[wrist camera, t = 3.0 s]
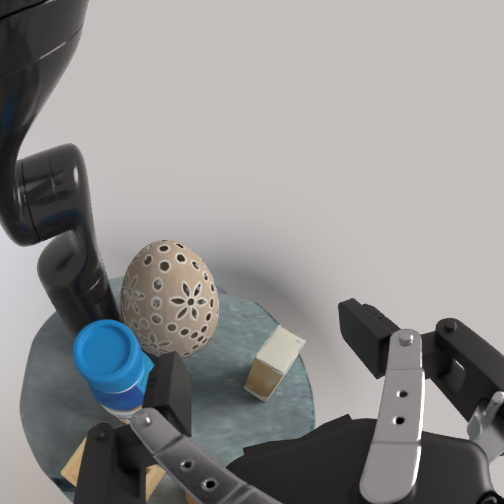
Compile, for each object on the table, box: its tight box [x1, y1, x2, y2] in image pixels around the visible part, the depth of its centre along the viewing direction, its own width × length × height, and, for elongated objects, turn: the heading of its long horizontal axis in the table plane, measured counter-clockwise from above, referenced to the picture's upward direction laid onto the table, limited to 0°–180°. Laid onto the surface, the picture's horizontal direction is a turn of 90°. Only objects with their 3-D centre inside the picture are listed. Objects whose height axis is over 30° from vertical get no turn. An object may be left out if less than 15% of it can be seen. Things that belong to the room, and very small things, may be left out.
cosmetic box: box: [244, 326, 306, 402], centre depth 36 cm, size 6×4×12 cm
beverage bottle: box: [72, 320, 154, 425], centre depth 27 cm, size 8×8×20 cm
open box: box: [61, 425, 166, 502], centre depth 22 cm, size 9×9×8 cm
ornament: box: [121, 240, 219, 358], centre depth 38 cm, size 15×15×20 cm
